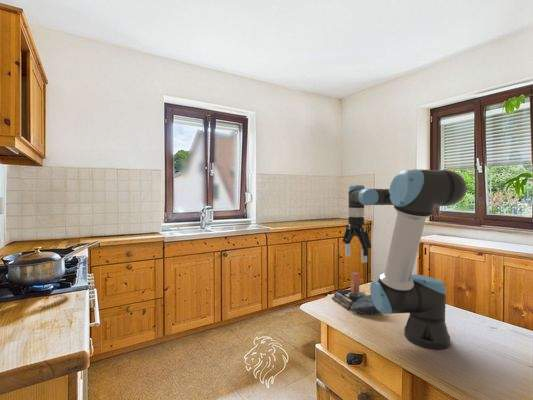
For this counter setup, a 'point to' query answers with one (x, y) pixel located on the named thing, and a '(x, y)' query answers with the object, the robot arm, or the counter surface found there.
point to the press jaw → (355, 288)
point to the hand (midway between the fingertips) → (355, 259)
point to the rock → (364, 305)
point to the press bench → (343, 298)
